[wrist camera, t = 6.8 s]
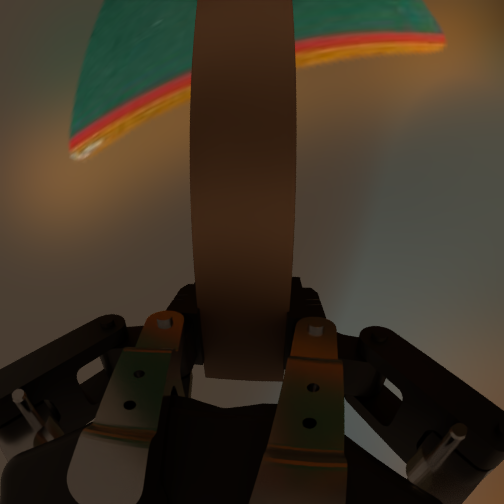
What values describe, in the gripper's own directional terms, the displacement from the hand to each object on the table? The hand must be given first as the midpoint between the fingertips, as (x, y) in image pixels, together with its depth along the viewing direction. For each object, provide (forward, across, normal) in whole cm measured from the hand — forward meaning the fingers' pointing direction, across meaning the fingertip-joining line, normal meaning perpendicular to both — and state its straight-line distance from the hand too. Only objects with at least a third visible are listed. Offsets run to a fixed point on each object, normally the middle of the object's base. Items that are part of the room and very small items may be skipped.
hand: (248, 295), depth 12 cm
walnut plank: (+1, 0, -7) cm, 7 cm away
